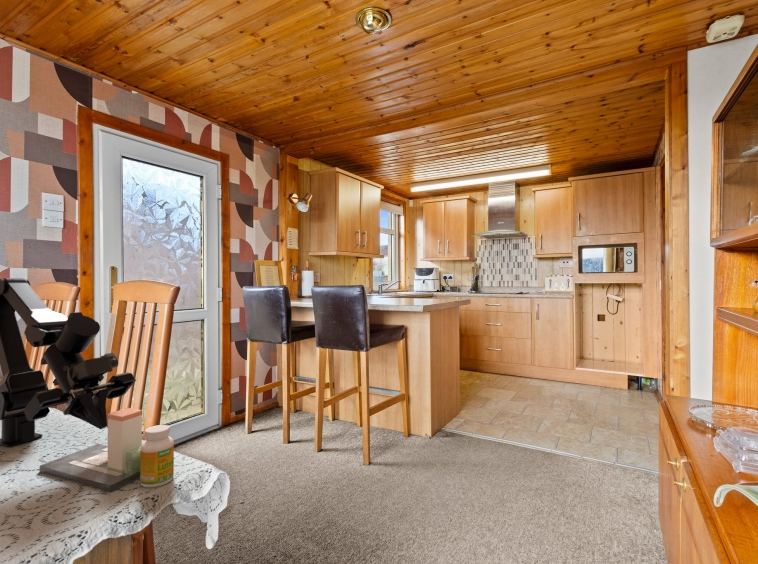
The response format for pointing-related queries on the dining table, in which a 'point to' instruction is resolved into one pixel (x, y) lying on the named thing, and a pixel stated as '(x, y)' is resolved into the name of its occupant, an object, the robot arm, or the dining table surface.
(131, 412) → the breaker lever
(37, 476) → the dining table surface
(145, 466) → the supplement bottle
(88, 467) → the plate
